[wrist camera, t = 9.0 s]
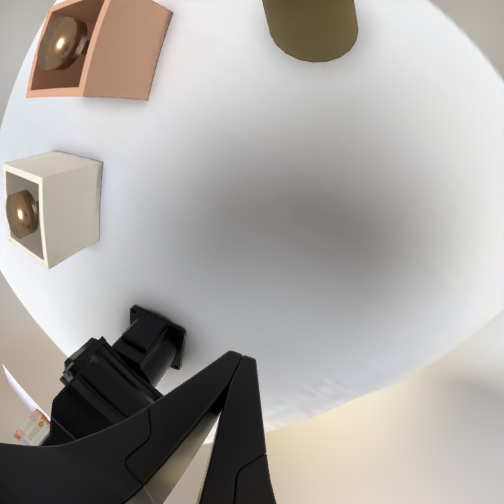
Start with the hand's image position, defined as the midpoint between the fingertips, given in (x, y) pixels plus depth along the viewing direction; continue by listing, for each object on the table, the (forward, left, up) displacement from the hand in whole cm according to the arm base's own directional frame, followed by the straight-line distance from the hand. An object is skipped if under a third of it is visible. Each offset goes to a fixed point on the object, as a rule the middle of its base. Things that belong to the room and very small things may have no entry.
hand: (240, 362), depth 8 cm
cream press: (-3, +22, -13) cm, 26 cm away
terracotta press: (+11, +18, -13) cm, 24 cm away
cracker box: (-120, +73, -13) cm, 141 cm away
